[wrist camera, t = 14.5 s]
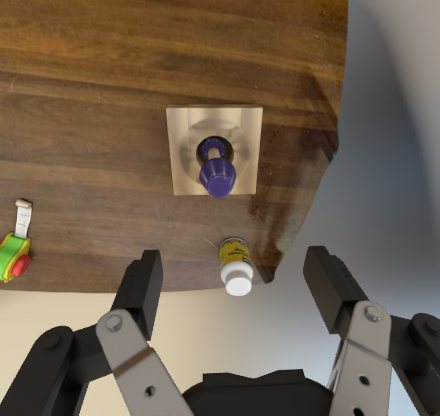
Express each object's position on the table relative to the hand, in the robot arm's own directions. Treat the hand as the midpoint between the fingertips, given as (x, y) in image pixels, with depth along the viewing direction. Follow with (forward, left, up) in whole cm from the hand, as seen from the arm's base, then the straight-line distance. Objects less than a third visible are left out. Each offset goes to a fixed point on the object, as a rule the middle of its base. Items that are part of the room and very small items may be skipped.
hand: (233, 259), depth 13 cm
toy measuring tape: (+39, +21, -32) cm, 55 cm away
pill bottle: (-4, +25, -32) cm, 41 cm away
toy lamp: (0, +3, -32) cm, 32 cm away
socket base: (0, +3, -32) cm, 32 cm away
